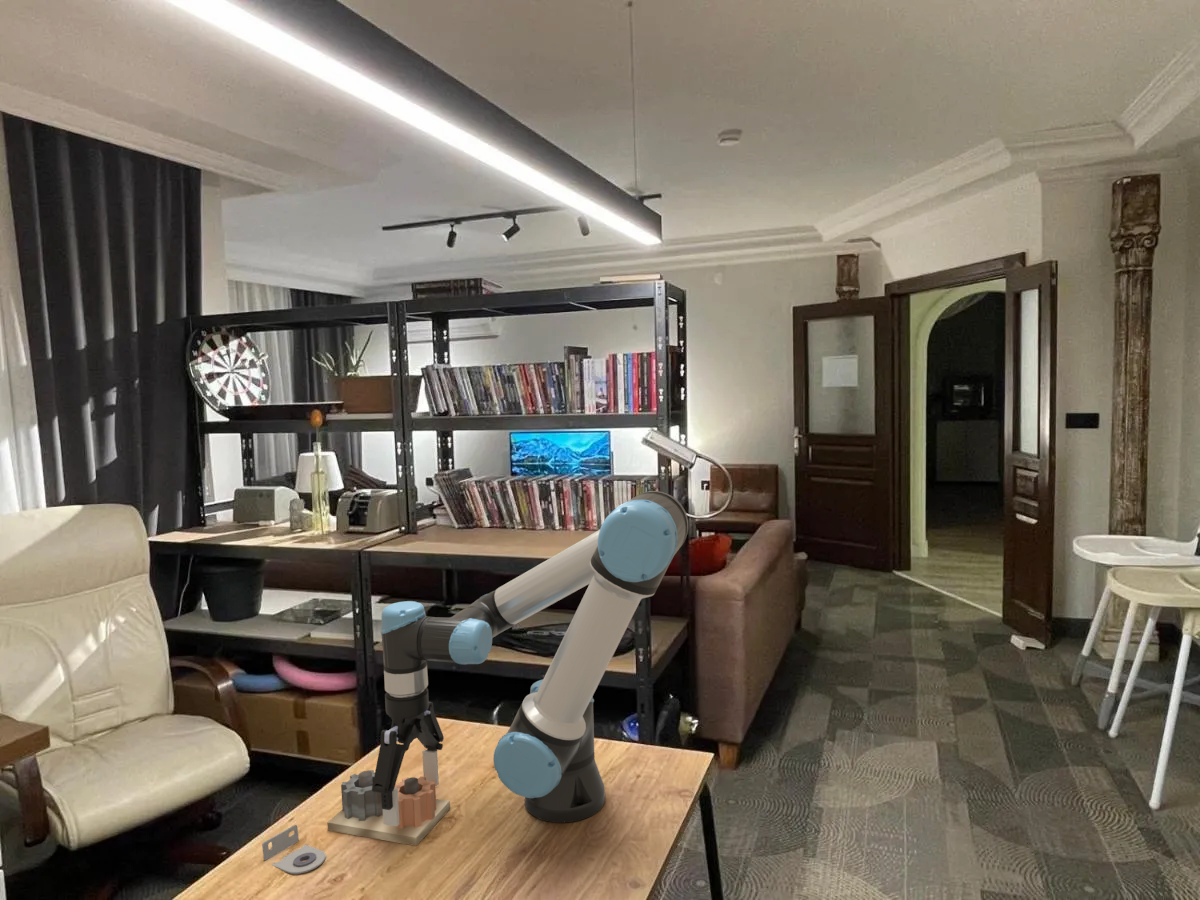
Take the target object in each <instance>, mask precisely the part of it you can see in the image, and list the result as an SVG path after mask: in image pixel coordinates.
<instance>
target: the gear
mask: <svg viewBox="0 0 1200 900" xmlns="http://www.w3.org/2000/svg"><path fill="white" fill-rule="evenodd" d="M408 778H409V777H403V778H402V780H401V781H400V782H398V783H396V784H395V787H394V788H398V805H399V825H398V826H397V828H401V829H402V828H403V827H404V826H411V825H414V826H415V828H416V827H419V826H421V823H422V822H424V821H425V820H427V819H429V820H432V819H433V818H434V817H435V810H436V799H437V796H436V795H437V794H436V786H435V783H434V781H431V782H428V781H426V777H424V776H421V775H420V776H419V777H417V779H418V790H419V792H417V793H415V794H408V795H405V785H404V781H405V780H406V779H408Z"/></svg>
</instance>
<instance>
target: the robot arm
mask: <svg viewBox="0 0 1200 900" xmlns="http://www.w3.org/2000/svg"><path fill="white" fill-rule="evenodd" d="M688 533H689V520H688V515H687V511H686V510H685V508H684V506H683V505H682V504H681V503H680V501H679V500H678V499H677V498H675V497H674V496H673V495H671V494H668V493H666V492H663V491H659V490H650V491H644V492H642V493H639V494H637V495H635V496H634V497H633V498H631V499H630V500H628V501H626V502H624V503H622V504H619V505H617V507H616V508H614V509H612V510H611V512H610V514H608V515H607V516H606V517H605V519H604V520H603V522H602V524H601V527H600V529H598V530H597V531H595V532H593V533H592V534H590V535H588V536H586V537H585V538H583V539H582V540H579V541H578V542H576V543H574V544H572V545H571V546H569V547H567V548H566V549H563V550H562V551H560V552H559V553H557V554H555V555H553V556H551V557H550V558H548V559H547V560H545V561H543V562H541V563H539V564H538V565H536V566H534V567H532V568H531V569H529V570H527V571H526V572H523V573H521V574H520V575H519V576H516V577H515V578H513V579H512V580H510V581H508V582H506V583H505V584H503V585H501V586H499V587H498V588H496V589H495V590H493V591H490V592H489V593H486V594H484V595H482V596H480V597H479V598H477V599H476V600H475V601H474V602H472V603H471V604H469V605H468V606H467V607H465V608H463V609H462V610H460V611H458V612H457V613H456V614H454V615H453V616H450V617H439V616H438V617H435V616H429V615H426V611H425V606H424V605H423V604H422V603H421V602H417V601H415V600H414V601H413V600H407V601H405V600H404V601H398V602H394V603H391V604H389V605H387V606H385V607H384V608H383V610H382V612H381V628H380V635H381V645H382V657H383V675H384V676H383V677H384V678H383V679H384V691H385V694H384V700H385V701H384V703H385V705H384V706H385V713H386V715H387V716H388V717H389V718H390V719H391V720H392V721H391V727H390V729H389V730H387V729H382V730H381V731H380V746H379V752H378V754H377V755H378V756H377V759H376V760H377V761H376V766H375V772H374V773H375V775H374V781H373V786H372V791H373V792H378V793H381V801H382V809H383V824H385V825H391V826H398V825H399V805H398V788H394V787H395V784H397V780H398V776H399V774H400V770H401V767H402V764H403V760H404V756H405V753H406V752H407V751H408V750H409V749H410V746H411V743H413V742H414V740H416V739H417V740H418V741H419V743H421V745H422V746H423V747H424V748H425V749H424V750H422V770H423V773H422V774H423V777H426V781H428V782H431V781H434V783H435V787H437V786H438V785H439V782H440V781H439V763H438V762H439V760H438V751H442V750H443V746H444V745H443V743H442V742H444V739H445V736H444V734H443V731H442V729H441V727H440V723H439V721H438V719H437V716H436V713H435V709H434V703H433V701H429V697H430V696H429V688H428V686H429V676H428V661H431V662H440V663H442V662H443V663H452V664H459V665H465V666H467V665H479V664H480V665H481V664H482V663H484V662H485V661H486V660H487V659H488V657H489V654H490V653H491V650H492V647H493V645H492V644H493V638H494V637H496V636H498V635H499V634H501V633H503V632H504V631H506V630H509V629H510V628H512V627H514V626H516V624H518V623H520V622H523V621H524V620H526V619H527V618H529V617H532V616H533V615H535V614H537V613H539V612H540V611H542V610H544V609H547V608H548V607H550V606H551V605H554V604H555V603H557V602H558V601H560V600H563V599H564V598H566V597H568V596H570V595H572V594H573V593H575V592H577V591H578V590H580V589H582V588H584V587H586V586H588V587H587V589H586V590H585V593H584V594H583V597H582V598H581V601H580V603H579V605H578V606H577V609H576V611H575V613H574V615H573V618H572V619H571V622H570V623H569V626H568V628H567V629H566V632H565V633H564V636H563V637H562V640H561V642H560V644H559V646H558V648H557V651H556V652H555V654H554V656H553V659H552V661H551V663H550V665H549V666H548V669H547V670H546V673H545V676H544V677H543V679H540V680H537V681H535V682H533V683H532V685H531V686H530V692H529V694H527V695H526V696H525V697H524V699H523V701H522V703H520V707H519V709H518V710H517V713H516V715H515V717H514V719H513V720H512V723H511V725H510V726H509V728H508V730H507V732H506V733H505V734H504V735H502V736H501V738H499V740H498V741H497V745H496V746H495V749H494V752H493V758H492V759H493V766H494V770H495V772H496V773H497V776H498V779H499V780H500V782H501V783H502V784H503V785H504V786H505V787H506V788H507V789H508V790H509V791H511V792H512V793H514V794H515V795H517V796H520V797H523V798H524V806H525V809H526V810H527V811H528V812H529V814H530V815H532V816H533V817H535V818H536V819H538V820H539V819H540V820H542V821H545V822H551V823H563V824H564V823H573V822H578V821H582V820H584V819H587V818H590V817H591V816H593V815H596V814H597V813H598V812H600V810H601V809H602V808H603V806H604V804H605V802H606V795H605V794H606V788H605V783H604V782H603V779H602V774H600V770H599V767H598V765H597V763H596V759H595V731H594V730H595V729H594V728H595V723H594V721H595V720H594V719H595V718H594V702H595V699H594V697H593V696H594V694H595V692H596V690H597V689H598V686H599V684H600V683H601V681H602V678H603V676H604V675H605V672H606V670H607V669H608V666H609V664H610V662H611V660H612V658H613V657H614V655H615V652H616V650H617V648H618V646H619V644H620V642H621V640H622V638H623V636H624V634H625V632H626V630H627V628H628V626H629V624H630V622H631V620H632V618H633V616H634V615H635V612H636V610H637V608H638V606H639V604H640V602H641V601H642V599H646V598H649V597H653V596H654V595H655V594H656V592H657V590H658V588H659V586H660V584H661V582H662V579H663V578H664V577H665V574H666V572H667V570H668V568H669V566H670V564H671V563H672V561H673V558H674V556H675V555H676V554H677V552H678V551H679V550H680V549H681V547H682V546H683V545H684V543H685V541H686V539H687V535H688ZM389 783H390V784H389Z"/></svg>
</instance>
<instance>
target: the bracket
mask: <svg viewBox="0 0 1200 900" xmlns="http://www.w3.org/2000/svg"><path fill="white" fill-rule="evenodd" d="M292 832H293V834H292V835H290V833H292ZM289 835H290V836H289ZM299 841H300V839H299V831H298V825H297V824H294V825H292V826H290V827H288V828H287V829H285V830H283V831H281V832H279V833H277V834H276V835H274V836H272V837H270V838H268V839H267V840H265V841H263V842H262V844H261V846H262V855H263V856H262V857H263V861H267V860H270V859H271V858H273V857H275V856H276V855H278V854H280V853H281V852H283V851H285V850H287V849H289V848H290V847H292V846H294V845H295V844H296V843H298V842H299ZM270 843H271V847H270V849H269V844H270ZM281 858H282V859H281V860H279V861H278V862H274V863H272V864H271V866H272V867H275V868H277V869H279V870H281V871H282V872H285V873H288V874H290V875H291V874H292V875H298V874H304V873H307V872H309V871H312V870H314V869H316V868H318V867H320V866H321V865H322V864H323V863H324V862H325V860H326V858H327V855H326V853H325V851H324V850H321V849H319V848H315V847H313V846H311V845H308V844H304V845H303V846H301V847H300V848H297V849H296V850H294V851H292V852H291V853H289V854H287V855H285V856H284V857H281Z"/></svg>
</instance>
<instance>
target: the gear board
mask: <svg viewBox="0 0 1200 900" xmlns="http://www.w3.org/2000/svg"><path fill="white" fill-rule="evenodd" d="M374 775H375V772H374V769H370V770H364V771H360V772H359V773H358V774H357V773H353V774H350V775H349V780H348V781H343V782H341V784H340V787H341V789H340V790H341V791H340V792H341V806H342V807H341V808H342V809H341V810H340V811H338V813H336V814H335V815H334V816H333V817H332V818H331V819H329V820H328V821H327V824H326V826H327V831H330V832H334V833H340V834H341V833H342V834H345V835H346V834H347V835H352V836H356V837H358V836H359V837H364V838H369V839H373V840H375V839H376V840H382V841H387V842H392V843H398V844H404V845H409V846H414V847H416V846H418V845H419V844H420V843H421V841H422V840H423V839H425V837H426V836H427V835H428V834H429V832H431V830H432V829H434V827H435V826H436V825H437V824H438V823H439V821H440V820H441V819H442V818H443V817H444V816H445V815H446V814H447V813H448V811H450V809H451V803H450V802H451V801H450V800H448V799H447V800H445V799H439V798H436V810H435V817H434V818H433V819H432V820H429V819H427V820H425V821H424V822H422V823H421V826H419V827H416V828H415V826H414V825H411V826H404V827H403V828H402V829H401V828H397V826H391V825H385V824H383V809H382V801H381V793H378V792H373V791H372V786H373V781H374ZM389 784H390V783H389ZM404 785H405V795H408V794H415V793H417V792H419V790H418V777H415V776H414V777H413V776H412V777H408V779H406V780H405V781H404Z"/></svg>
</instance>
